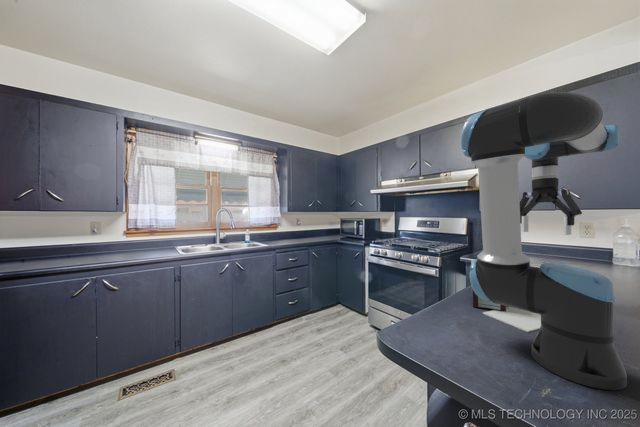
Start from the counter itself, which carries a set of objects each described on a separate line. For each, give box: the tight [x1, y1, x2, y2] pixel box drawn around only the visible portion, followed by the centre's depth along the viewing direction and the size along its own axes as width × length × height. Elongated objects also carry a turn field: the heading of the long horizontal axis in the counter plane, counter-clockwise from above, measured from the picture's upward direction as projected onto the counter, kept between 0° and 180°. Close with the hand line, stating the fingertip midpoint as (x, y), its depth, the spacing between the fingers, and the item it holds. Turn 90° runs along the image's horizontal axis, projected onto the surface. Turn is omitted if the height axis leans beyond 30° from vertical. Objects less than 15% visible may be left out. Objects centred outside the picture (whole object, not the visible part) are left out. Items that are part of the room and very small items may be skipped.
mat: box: [482, 306, 541, 333], centre depth 82 cm, size 20×14×1 cm
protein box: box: [470, 259, 507, 311], centre depth 94 cm, size 10×15×16 cm
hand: (544, 233), depth 92 cm, fingers open, 13 cm apart
